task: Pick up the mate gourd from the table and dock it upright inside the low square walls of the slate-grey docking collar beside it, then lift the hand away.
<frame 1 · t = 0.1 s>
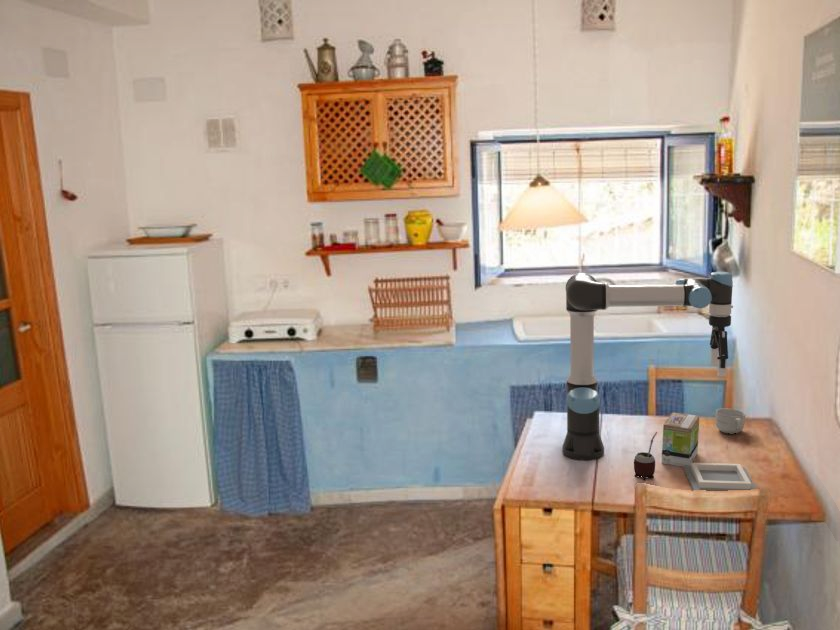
hand: (717, 370, 290), 28 cm above the table, tool pointing down, fingers open, 13 cm apart
mate gourd: (644, 477, 268), on the table
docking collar: (719, 481, 262), on the table
teacup: (730, 433, 305), on the table
tea box: (679, 458, 282), on the table
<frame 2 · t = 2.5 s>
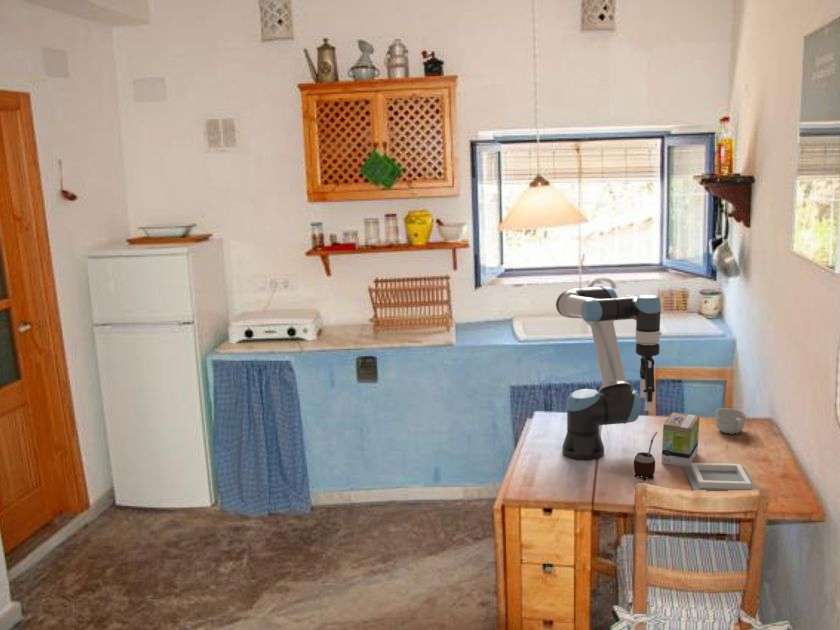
hand: (646, 403, 263), 26 cm above the table, tool pointing down, fingers open, 13 cm apart
nothing on the table moved.
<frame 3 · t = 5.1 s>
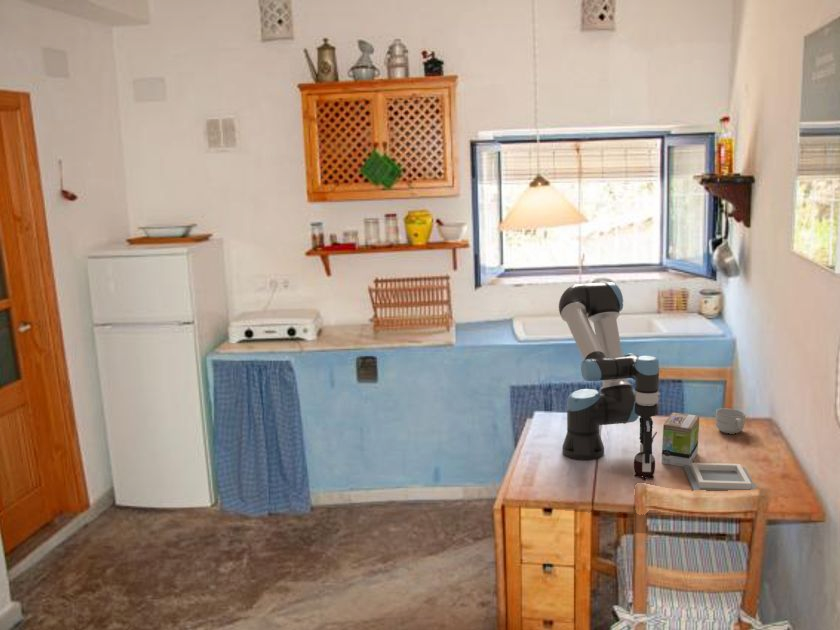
hand: (645, 466, 267), 4 cm above the table, tool pointing down, fingers closed on mate gourd, 7 cm apart
mate gourd: (644, 476, 269), on the table, touching gripper
everything else where it was.
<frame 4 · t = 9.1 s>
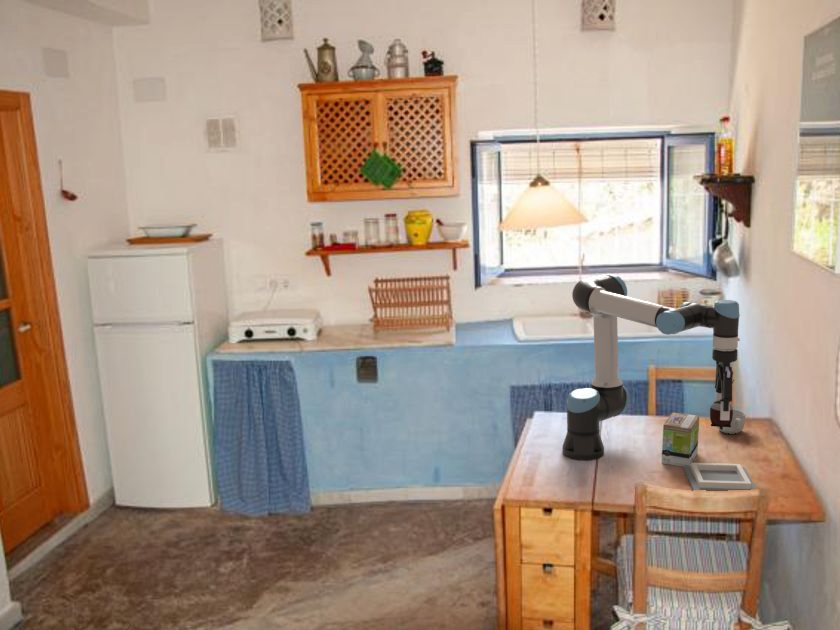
hand: (722, 415, 258), 23 cm above the table, tool pointing down, fingers closed on mate gourd, 7 cm apart
mate gourd: (721, 426, 259), point 19 cm above the table, touching gripper
everything else where it was.
when the fingers open (6 cm above the table, at t = 13.0 s): mate gourd drops 1 cm, resting on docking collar.
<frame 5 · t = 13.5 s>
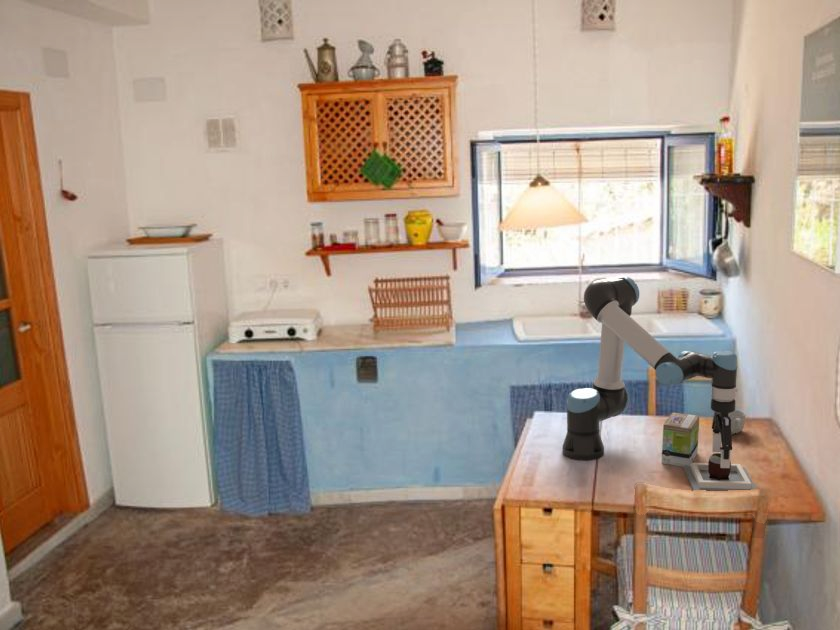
hand: (720, 459, 261), 8 cm above the table, tool pointing down, fingers open, 13 cm apart
mate gourd: (719, 478, 262), point 1 cm above the table, touching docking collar
everything else where it was.
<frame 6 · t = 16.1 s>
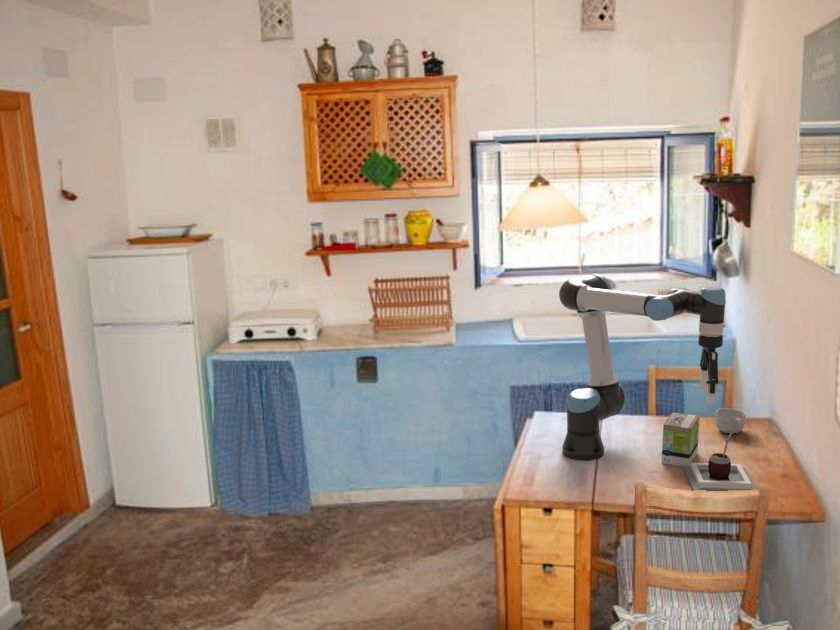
hand: (707, 395, 263), 28 cm above the table, tool pointing down, fingers open, 13 cm apart
nothing on the table moved.
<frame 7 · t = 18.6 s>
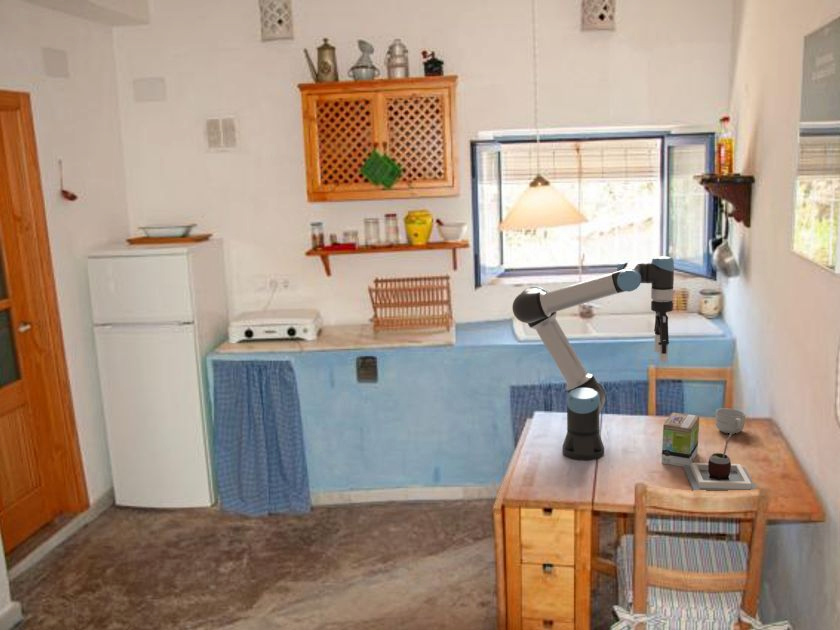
hand: (660, 356, 287), 35 cm above the table, tool pointing down, fingers open, 13 cm apart
nothing on the table moved.
at the end: mate gourd 0.2 cm off-centre on the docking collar, point 0.8 cm above the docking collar's base; mate gourd tilted 0°; the gripper is holding nothing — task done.
